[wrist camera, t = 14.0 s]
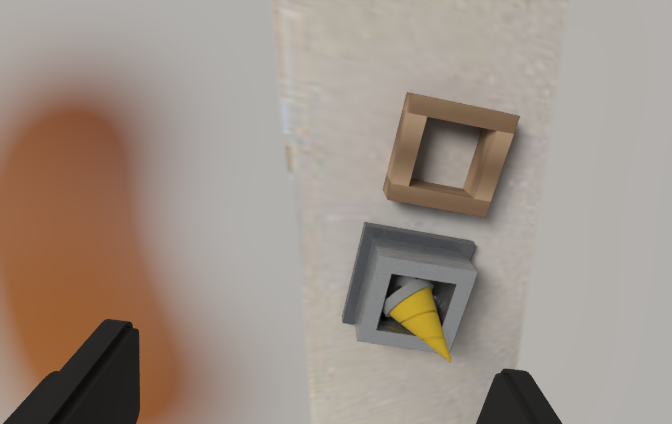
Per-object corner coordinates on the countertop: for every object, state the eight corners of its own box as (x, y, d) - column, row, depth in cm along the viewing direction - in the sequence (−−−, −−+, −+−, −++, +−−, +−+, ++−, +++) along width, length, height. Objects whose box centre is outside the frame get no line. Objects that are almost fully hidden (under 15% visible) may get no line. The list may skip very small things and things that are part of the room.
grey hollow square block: (364, 222, 38) (370, 243, 33) (472, 240, 39) (492, 264, 34) (342, 317, 42) (344, 348, 37) (441, 332, 43) (455, 364, 38)
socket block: (406, 92, 34) (414, 94, 31) (504, 112, 35) (520, 116, 32) (382, 189, 37) (387, 199, 34) (473, 206, 38) (485, 217, 35)
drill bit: (419, 247, 39) (487, 338, 34) (393, 276, 42) (451, 362, 38) (381, 260, 35) (449, 361, 31) (356, 290, 39) (414, 385, 34)
